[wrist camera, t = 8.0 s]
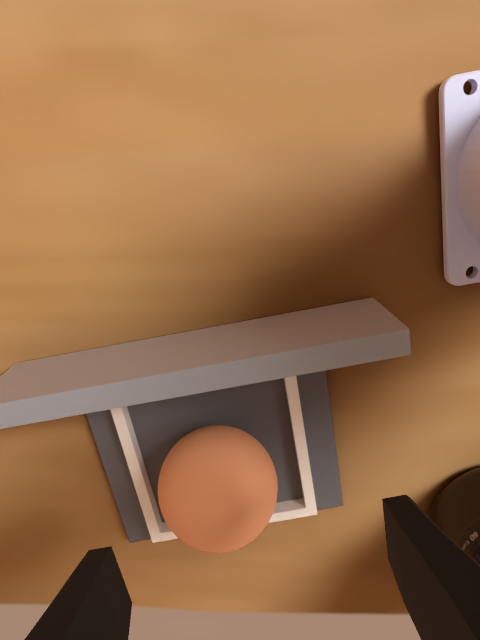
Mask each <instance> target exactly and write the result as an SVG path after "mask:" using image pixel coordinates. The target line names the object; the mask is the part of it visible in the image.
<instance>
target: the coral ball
mask: <svg viewBox="0 0 480 640" xmlns="http://www.w3.org/2000/svg"><path fill="white" fill-rule="evenodd" d="M277 493H278V483H277V475H276V471H275V467H274V465H273V462H272V460H271V458H270V456H269V454H268V452H267V451H266V450H265V448H264V447H263V446H262V445H261V443H260V442H259V441H258V440H257V439H255V438H254V437H253V436H251V435H250V434H248V433H247V432H245V431H243V430H241V429H238V428H235V427H232V426H226V425H211V426H206V427H202V428H199V429H197V430H194V431H192V432H191V433H189V434H187V435H186V436H184V437H183V438H182V439H180V440H179V441H178V442H177V443H176V444H175V445H174V447H173V448H172V449H171V450H170V452H169V453H168V455H167V457H166V459H165V461H164V462H163V465H162V468H161V471H160V474H159V480H158V500H159V506H160V509H161V512H162V515H163V518H164V520H165V522H166V523H167V525H168V527H169V528H170V530H171V531H172V532H173V533H174V534H175V535H176V536H177V537H178V538H179V539H180V540H181V541H182V542H184V543H185V544H187V545H188V546H190V547H192V548H194V549H197V550H200V551H203V552H208V553H225V552H230V551H234V550H237V549H239V548H241V547H243V546H245V545H247V544H248V543H250V542H251V541H253V540H254V539H255V538H256V537H257V536H258V535H259V534H260V533H261V532H262V531H263V530H264V528H265V527H266V525H267V524H268V522H269V520H270V518H271V516H272V514H273V511H274V508H275V505H276V501H277Z"/></svg>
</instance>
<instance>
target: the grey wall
mask: <svg viewBox="0 0 480 640" xmlns="http://www.w3.org/2000/svg"><path fill="white" fill-rule="evenodd" d="M408 355H411V345H410V329H409V328H408V327H407V326H405V325H404V324H403V323H402V322H401V321H400V320H399V319H397V318H396V317H395V316H394V315H393V314H392V313H390V312H389V311H388V310H387V309H386V308H385V307H383V306H382V305H381V304H380V303H379V302H378V301H377V300H375V299H374V298H373V297H372V298H367V299H361V300H356V301H350V302H345V303H339V304H334V305H328V306H323V307H318V308H312V309H307V310H301V311H296V312H290V313H285V314H280V315H274V316H269V317H263V318H258V319H252V320H247V321H242V322H236V323H231V324H225V325H220V326H214V327H209V328H203V329H198V330H193V331H187V332H182V333H176V334H171V335H165V336H160V337H155V338H149V339H144V340H138V341H133V342H127V343H122V344H116V345H111V346H106V347H100V348H95V349H89V350H84V351H78V352H73V353H68V354H62V355H57V356H51V357H46V358H40V359H35V360H29V361H24V362H19V363H14V364H13V365H12V366H11V367H10V368H9V369H8V370H7V371H6V372H5V373H4V374H3V375H1V376H0V429H4V428H9V427H15V426H20V425H26V424H31V423H37V422H43V421H48V420H54V419H59V418H65V417H70V416H76V415H81V414H87V413H92V412H98V411H103V410H109V409H115V408H120V407H126V406H131V405H137V404H142V403H148V402H153V401H159V400H164V399H170V398H175V397H181V396H187V395H192V394H198V393H203V392H209V391H214V390H220V389H225V388H231V387H236V386H242V385H247V384H253V383H259V382H264V381H270V380H275V379H281V378H286V377H292V376H297V375H303V374H308V373H314V372H319V371H325V370H331V369H336V368H342V367H347V366H353V365H358V364H364V363H369V362H375V361H380V360H386V359H392V358H397V357H403V356H408Z"/></svg>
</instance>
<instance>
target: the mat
mask: <svg viewBox="0 0 480 640" xmlns="http://www.w3.org/2000/svg"><path fill="white" fill-rule="evenodd" d="M86 416H87V419H88V421H89V424H90V427H91V430H92V433H93V436H94V439H95V442H96V445H97V448H98V451H99V454H100V457H101V460H102V463H103V466H104V469H105V472H106V475H107V477H108V480H109V483H110V486H111V489H112V492H113V495H114V498H115V501H116V504H117V507H118V510H119V513H120V516H121V519H122V522H123V525H124V528H125V531H126V533H127V536H128V539H129V542H130V543H131V542H136V541H142V540H148V539H151V540H152V543H155V542H161V541H167V540H173V539H178V537H177V536H176V535H175V534H174V533H173V532H172V531H171V530H170V528H169V527H168V525H167V523H166V522H165V520H164V518H163V515H162V512H161V509H160V506H159V500H158V480H159V474H160V471H161V468H162V465H163V462H164V461H165V459H166V457H167V455H168V453H169V452H170V450H171V449H172V448H173V447H174V445H175V444H176V443H177V442H178V441H179V440H180V439H182V438H183V437H184V436H186V435H187V434H189V433H191V432H192V431H194V430H197V429H199V428H202V427H206V426H211V425H226V426H232V427H235V428H238V429H241V430H243V431H245V432H247V433H248V434H250V435H251V436H253V437H254V438H255V439H257V440H258V441H259V442H260V443H261V445H262V446H263V447H264V448H265V450H266V451H267V452H268V454H269V456H270V458H271V460H272V462H273V465H274V467H275V471H276V475H277V483H278V493H277V501H276V505H275V508H274V511H273V514H272V516H271V518H270V520H269V522H268V523H271V522H277V521H283V520H288V519H294V518H300V517H306V516H311V515H317V510H321V509H327V508H333V507H338V506H343V500H342V493H341V485H340V477H339V469H338V462H337V454H336V446H335V439H334V431H333V423H332V416H331V408H330V400H329V393H328V385H327V377H326V370H325V371H319V372H314V373H308V374H303V375H297V376H292V377H286V378H281V379H275V380H270V381H264V382H259V383H253V384H247V385H242V386H236V387H231V388H225V389H220V390H214V391H209V392H203V393H198V394H192V395H187V396H181V397H175V398H170V399H164V400H159V401H153V402H148V403H142V404H137V405H131V406H126V407H120V408H115V409H109V410H103V411H98V412H92V413H87V414H86Z"/></svg>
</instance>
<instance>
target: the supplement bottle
mask: <svg viewBox="0 0 480 640" xmlns="http://www.w3.org/2000/svg"><path fill="white" fill-rule="evenodd" d="M429 518H430V519H431V520H432V521H433V522H434V523H435V524H436V525H437V526H438V527H439V528H440V529H441V530H442V531H443V532H444V533H445V534H446V535H447V536H448V537H449V538H451V539H452V540H453V541H454V542H455V543H456V544H457V545H458V546H459V547H460V548H461V549H462V550H464V551H465V552H466V553H467V554H468V555H469V556H470V557H471V558H472V559H474V560H475V561H476V562H477V563H478V564H479V565H480V467H479V468H476V469H473V470H471V471H468V472H466V473H464V474H462V475H461V476H459V477H457V478H456V479H454V480H453V481H452V482H451V483H449V484H448V485H447V486H446V487H445V488H444V489H443V490H442V491H441V492H440V494H439V495H438V496H437V498H436V499H435V501H434V503H433V505H432V507H431V510H430V513H429Z"/></svg>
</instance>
